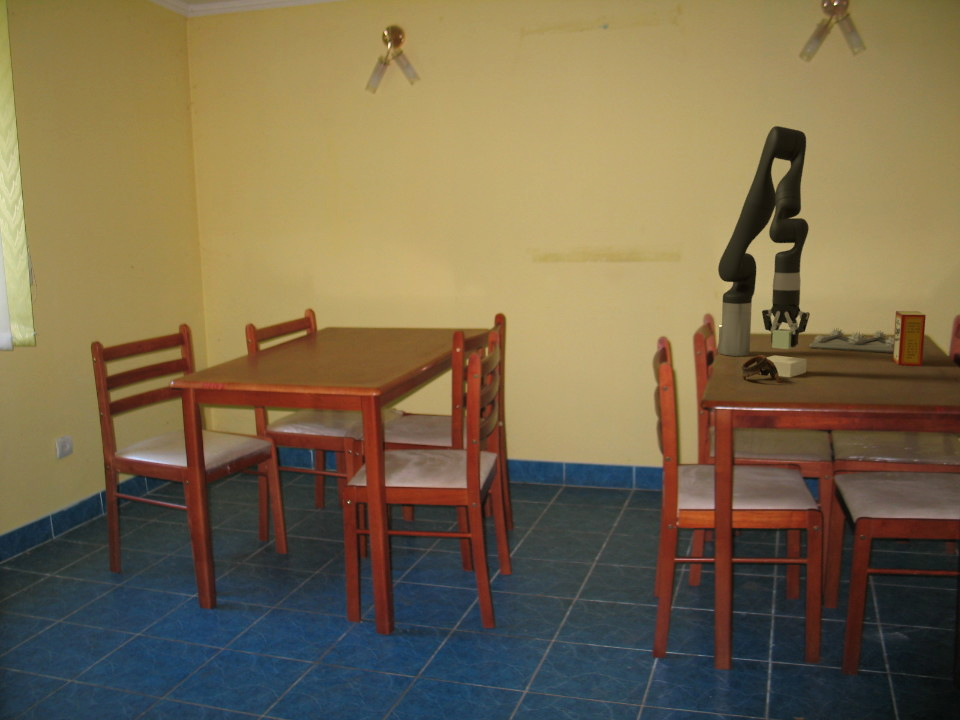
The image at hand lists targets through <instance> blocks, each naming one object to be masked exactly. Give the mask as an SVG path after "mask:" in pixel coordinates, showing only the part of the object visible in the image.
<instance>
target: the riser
mask: <svg viewBox="0 0 960 720" xmlns="http://www.w3.org/2000/svg"><path fill="white" fill-rule="evenodd" d="M766 358H767V359H769V360H771V361H772V362H773V363H774V364H775V367H776V368H777V371H778V375H779V377H783V378H792V377H796V376H799V375H802V374H805V373H807V358H800V357H790V356H782V355H771V356H768V357H766ZM768 376H770V373H769V375H768Z"/></svg>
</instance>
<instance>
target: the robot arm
mask: <svg viewBox="0 0 960 720" xmlns="http://www.w3.org/2000/svg"><path fill="white" fill-rule="evenodd" d="M806 149H807V137H806V134H805V133H804V132H803V131H801V130H799V129H795V128H790V127H784V126H779V125H776V126H773V127H772V128H771V129H770V130H769V132H768V134H767V136H766V138H765V141H764V146H763V148H762V152H761V155H760V158H759V161H758V162H759V163H758V165H757V168H756V172H755V175H754V178H753V181H752V182H751V185H750V188H749V191H748V192H747V195H746V198H745V200H744V203H743V205H742V208H741V211H740V214H739V218H738V220H737V222H736V225H735V226H734V229H733V232H732V235H731V237H730V239H729V241H728V242H727V243H728V244H727V245H726V248H724V251H723V253H722V255H721V257H720V259H719V263H718V266H717V267H718V268H717V269H718V270H717V271H718V275H719V278H720V279H721V280H722V281H723V282H726V283H732V286H731V287H730V288H729V289H728V290H727V291H726V292H724V293H723V295H722V307H721V308H722V309H721V312H722V313H721V324H720V325H718V348H717V350H718V351H717V353H718V354H722V355H724V356H733V357H735V356H736V357H743V356H748V355H749V356H750V353H751V329H752V328H751V327H752V326H751V325H752V303H753V302H752V301H753V298H754V297H753V296H754V295H755V291H756V289H755V288H756V279H757V262H756V259H755V258H754V256H753V255H752V254H751V253H749V252H747V250H748V248H749V247H750V245H751V243H752V242H753V241H754V240H755V239H756V237H758V236H759V234H760V233H761V232H762V231H763V230H764V229H765V228H766V226H767V225H769V223H770V220H771V218H772V215H773V213H774V215H773V219H772V221H771V224H770V226H769V231H768V235H769V238H770V240H771V241H772V242H773V243H775V244H794V245H793V246H792V248H790V249H788V250H784V251H779V252H777V253H776V254H775V256H774V273H773V278H772V279H773V280H772V299H771V300H772V307H771V308H770V309H764V310H763V309H762V311H761V314H762V320H763V325H764V326H763V327H764V329H765V331H769V332H770V334H771V335H770V337H771V338H770V342H771V344H772V338H773V331H774V330H778V329H780V327H781V326H782V325H783V324H782V323H785V324H787V325H788V327H789V330H791V333H792V335H791V347H795V348H797V345H799V334H802V333H805V332H806V328H807V325H808V323H809V319H810V316H811V314H810V312H805V311H802V310H801V309H800V303H801V302H800V301H801V261H802V260H801V259H802V253H803V248H804V245H805V244H806V239H807V237H808V234H809V230H810V229H809V224H808V222H807V220H806V219H805V218H802V217H797V216H798V215H799V214H800V212H802V211H801V210H802V197H801V196H802V195H801V192H802V191H801V190H802V189H801V188H802V187H801V185H802V178H803V171H804V170H803V169H804V167H805V166H804V165H805V159H806V158H805V157H806ZM775 159H779V160H782V161H783V160H784V161H789V162H790V168H789V170H788V171H787V172H786V173H785V175H784V176H783V177H782V178H781V179H780V181H779V182H778V183H777V186H776V189H775V186H774V181H773V176H772V175H773V174H772V169H773V163H774V160H775ZM794 217H797V218H794ZM772 315H773V317H774V319H773V321H772V318H771V317H772ZM798 317H799V319H800V320H799V322H798V321H797V318H798Z"/></svg>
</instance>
